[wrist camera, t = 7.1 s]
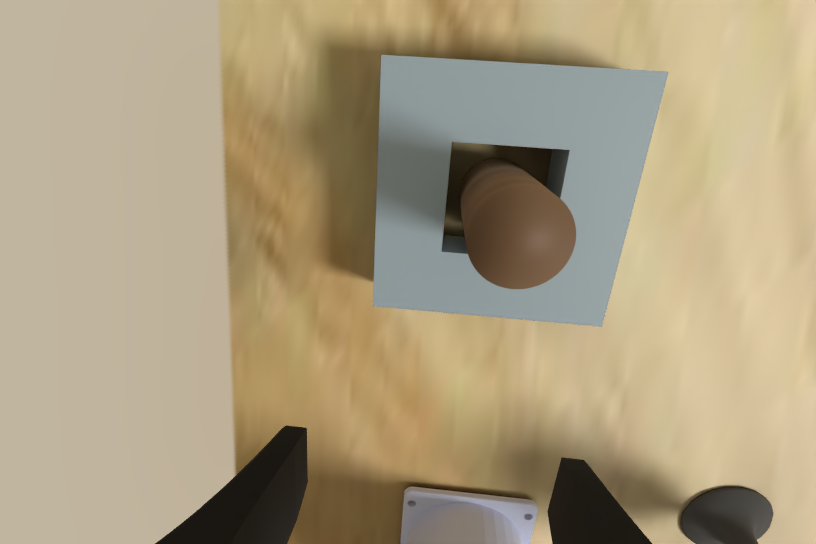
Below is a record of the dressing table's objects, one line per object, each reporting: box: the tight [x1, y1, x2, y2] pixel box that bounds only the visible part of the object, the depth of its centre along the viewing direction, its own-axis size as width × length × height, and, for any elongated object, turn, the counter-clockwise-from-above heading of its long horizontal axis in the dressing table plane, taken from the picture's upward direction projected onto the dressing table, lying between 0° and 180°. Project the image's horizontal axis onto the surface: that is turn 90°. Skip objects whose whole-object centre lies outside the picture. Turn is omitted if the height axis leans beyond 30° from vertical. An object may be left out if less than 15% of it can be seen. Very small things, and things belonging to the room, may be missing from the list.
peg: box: [459, 158, 576, 289], centre depth 16 cm, size 3×3×7 cm
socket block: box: [373, 55, 668, 327], centre depth 18 cm, size 10×10×2 cm
